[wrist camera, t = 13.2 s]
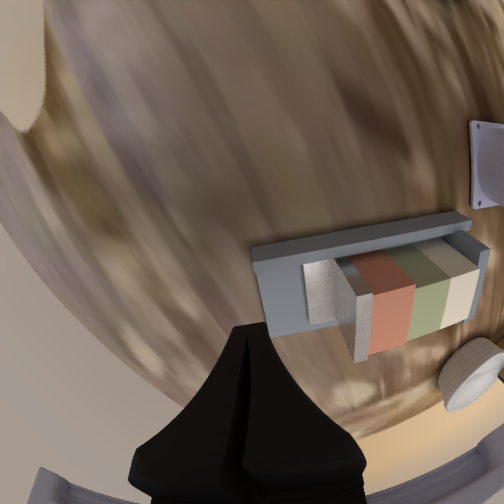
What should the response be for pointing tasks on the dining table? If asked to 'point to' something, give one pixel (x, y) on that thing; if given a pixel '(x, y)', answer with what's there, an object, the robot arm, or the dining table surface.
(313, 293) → the bookend
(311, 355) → the dining table surface
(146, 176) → the dining table surface
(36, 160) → the dining table surface
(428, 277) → the olive block
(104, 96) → the dining table surface
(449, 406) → the ramekin
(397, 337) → the rust book
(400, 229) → the shelf
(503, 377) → the picture frame
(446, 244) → the cream book
